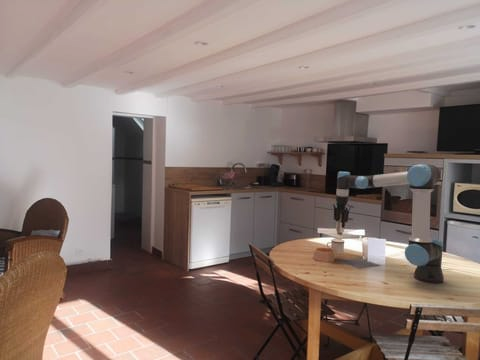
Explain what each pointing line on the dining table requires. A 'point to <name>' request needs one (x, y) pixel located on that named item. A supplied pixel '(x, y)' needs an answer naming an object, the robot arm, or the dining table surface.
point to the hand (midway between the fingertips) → (339, 231)
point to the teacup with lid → (337, 245)
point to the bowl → (324, 254)
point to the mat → (359, 263)
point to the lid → (339, 234)
